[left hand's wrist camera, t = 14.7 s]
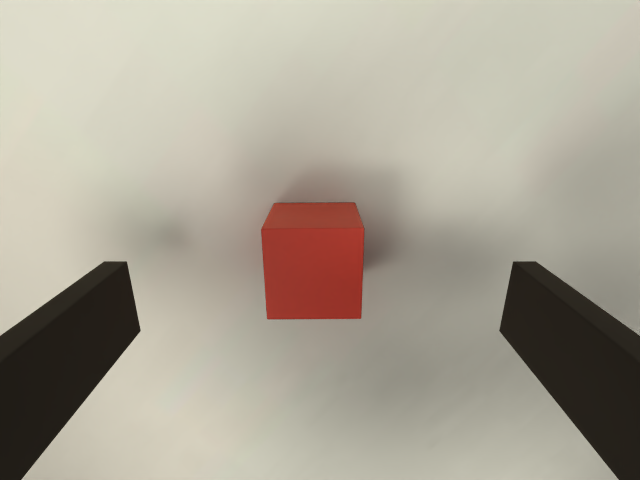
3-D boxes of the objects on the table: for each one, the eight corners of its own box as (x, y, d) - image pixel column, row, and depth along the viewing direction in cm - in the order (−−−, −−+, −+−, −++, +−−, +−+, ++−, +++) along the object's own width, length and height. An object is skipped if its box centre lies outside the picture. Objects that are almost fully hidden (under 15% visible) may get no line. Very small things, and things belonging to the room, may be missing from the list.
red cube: (273, 202, 18) (260, 228, 14) (355, 202, 18) (364, 227, 14) (277, 277, 20) (267, 319, 16) (353, 277, 20) (361, 319, 16)
